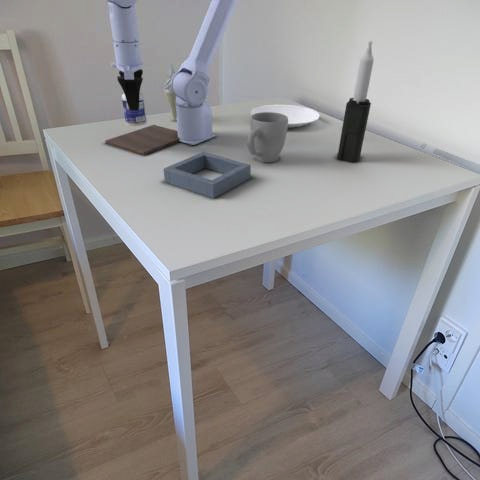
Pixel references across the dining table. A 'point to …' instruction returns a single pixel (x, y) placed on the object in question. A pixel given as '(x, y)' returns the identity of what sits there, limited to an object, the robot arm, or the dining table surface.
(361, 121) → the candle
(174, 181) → the square frame
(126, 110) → the pill bottle
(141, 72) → the robot arm
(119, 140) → the board
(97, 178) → the dining table surface
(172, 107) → the ice cream cone
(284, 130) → the mug
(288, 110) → the plate
